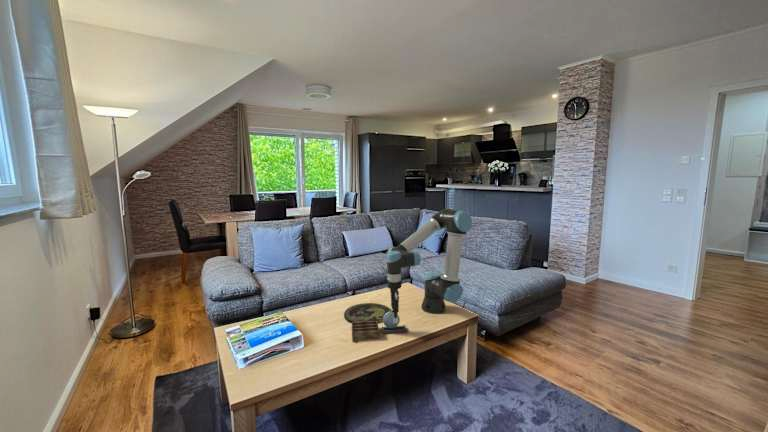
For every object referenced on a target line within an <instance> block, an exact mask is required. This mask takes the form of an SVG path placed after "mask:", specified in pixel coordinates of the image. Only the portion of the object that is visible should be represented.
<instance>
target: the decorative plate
mask: <svg viewBox="0 0 768 432" xmlns="http://www.w3.org/2000/svg"><path fill="white" fill-rule="evenodd" d="M389 311H392V308H390V307H389V306H387V305H384V304H380V303H374V302H365V303H357V304H354V305H351V306H350V307H348V308H347V309H346V310H345V311H344V313H343V318H344V320H345V321H346V322H348V323H349V324H352V322H366V321H377V323H378V324H384V322H383V317H384V315H385V314H386V313H387V312H389Z"/></svg>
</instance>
